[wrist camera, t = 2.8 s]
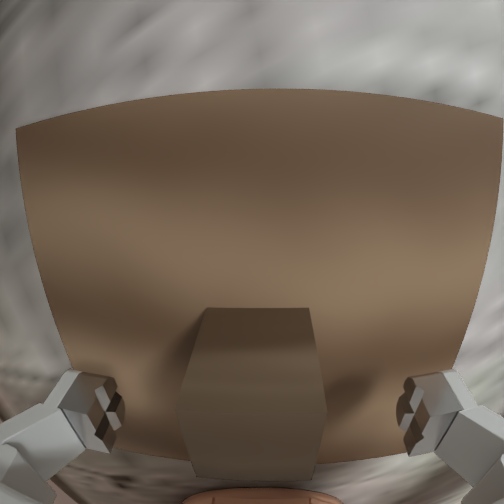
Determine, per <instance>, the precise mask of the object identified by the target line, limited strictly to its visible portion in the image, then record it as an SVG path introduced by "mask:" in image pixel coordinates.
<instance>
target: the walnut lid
mask: <svg viewBox="0 0 504 504" xmlns="http://www.w3.org/2000/svg"><path fill="white" fill-rule="evenodd" d="M16 140H17V152H18V162H19V171H20V179H21V186H22V193H23V199H24V205H25V211H26V216H27V221H28V226H29V231H30V236H31V240H32V245H33V249H34V253H35V257H36V261H37V265H38V269H39V272H40V276H41V279H42V283H43V286H44V290H45V293H46V296H47V299H48V303H49V306H50V309H51V312H52V315H53V318H54V320H55V323H56V326H57V329H58V332H59V334H60V337H61V340H62V342H63V345H64V347H65V350H66V352H67V355H68V357H69V360H70V362H71V364H72V367H73V369H74V370H77V371H82V372H88V373H93V374H99V375H104V376H110V377H113V378H114V379H115V381H116V383H117V385H118V387H117V389H116V392H117V393H118V394H120V395H121V396H122V398H123V400H124V403H125V409H126V411H125V419H124V421H123V424H122V426H121V427H119V428H118V429H116V430H115V433H116V436H117V438H116V441H115V443H114V445H113V448H117V449H121V450H126V451H131V452H136V453H141V454H147V455H153V456H159V457H165V458H172V459H179V460H188V461H191V463H192V466H193V469H194V471H195V474H196V477H202V478H213V479H226V480H245V481H298V480H312V476H313V472H314V468H315V464H324V463H336V462H346V461H355V460H363V459H370V458H377V457H383V456H389V455H395V454H401V453H406V452H407V450H406V447H405V444H404V441H403V438H404V436H405V433H406V432H404V431H403V430H402V429H400V428H399V426H398V423H397V419H396V405H397V402H398V399H399V397H400V396H401V395H402V394H403V393H405V391H404V388H403V385H404V382H405V380H406V379H407V378H408V377H409V376H416V375H422V374H427V373H433V372H439V371H444V370H449V369H452V367H453V364H454V362H455V360H456V357H457V354H458V352H459V349H460V347H461V344H462V341H463V338H464V336H465V333H466V330H467V327H468V324H469V321H470V318H471V315H472V312H473V309H474V305H475V302H476V299H477V295H478V292H479V288H480V284H481V281H482V277H483V273H484V269H485V265H486V260H487V256H488V251H489V247H490V242H491V237H492V231H493V226H494V220H495V214H496V207H497V200H498V192H499V183H500V173H501V161H502V144H503V118H499V117H496V116H492V115H488V114H484V113H480V112H476V111H472V110H468V109H464V108H459V107H454V106H450V105H445V104H440V103H434V102H429V101H423V100H417V99H410V98H404V97H396V96H389V95H380V94H371V93H361V92H350V91H336V90H316V89H242V90H222V91H208V92H196V93H186V94H177V95H168V96H161V97H153V98H146V99H140V100H133V101H128V102H122V103H116V104H111V105H106V106H101V107H96V108H91V109H87V110H82V111H78V112H74V113H70V114H66V115H62V116H58V117H54V118H50V119H47V120H43V121H40V122H36V123H33V124H30V125H26V126H23V127H20V128H17V129H16Z"/></svg>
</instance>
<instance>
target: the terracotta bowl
mask: <svg viewBox="0 0 504 504" xmlns="http://www.w3.org/2000/svg"><path fill="white" fill-rule="evenodd" d="M182 504H344V503H343V502H342V501H341V500H339V499H337V498H336V497H333V496H330V495H327V494H323V493H319V492H314V491H307V490H299V489H288V488H231V489H220V490H212V491H207V492H202V493H198V494H195V495H193V496H190V497H188V498H187V499H185V500H184V501H183V503H182Z"/></svg>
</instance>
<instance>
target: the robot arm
mask: <svg viewBox="0 0 504 504" xmlns="http://www.w3.org/2000/svg"><path fill="white" fill-rule="evenodd" d="M117 387H118V385H117V383H116V381H115V379H114V378H113V377H110V376H104V375H99V374H93V373H88V372H82V371H77V370H72V369H69V370H67V371H65V373H64V374H63V376H62V377H61V378H60V380H59V381H58V383H57V384H56V386H55V387H54V389H53V390H52V392H51V393H50V395H49V396H48V398H47V399H46V401H45V402H44V404H42V403H39V404H37V405H35V406H33V407H31V408H29V409H27V410H25V411H24V412H22V413H20V414H18V415H16V416H14V417H12V418H10V419H8V420H7V421H5V422H3V423H1V424H0V504H53V503H54V500H55V498H56V493H55V491H54V490H53V489H52V488H51V487H50V486H49V485H48V484H47V483H46V481H47V480H48V479H50V478H51V477H52V476H54V475H55V474H56V473H57V472H59V471H60V470H61V469H62V468H64V467H65V466H66V465H67V464H69V463H70V462H71V461H72V460H74V459H75V458H76V457H77V456H79V455H80V454H81V453H82V452H84V451H85V450H86V449H85V448H87V449H91V450H96V451H100V452H105V453H109V454H110V453H111V450H112V448H113V445H114V443H115V441H116V438H117V436H116V433H115V430H116V429H118V428H119V427H121V426H122V424H123V421H124V419H125V411H126V409H125V403H124V400H123V398H122V396H121V395H120V394H118V393H117V392H116V389H117ZM403 388H404V391H405V393H403V394H402V395H401V396H400V397H399V399H398V402H397V405H396V419H397V423H398V426H399V428H400V429H402V430H403V431H404V432H406V433H405V436H404V438H403V441H404V444H405V447H406V450H407V453H408V456H409V457H410V456H416V455H421V454H425V453H430V452H434V451H435V452H434V453H435V454H436V455H437V456H439V457H440V458H441V459H442V460H443V461H444V462H445V463H446V464H447V465H449V466H450V467H451V468H452V469H453V470H454V471H455V472H457V473H458V474H459V475H460V476H461V477H462V478H463V479H464V480H466V481H467V482H468V483H469V484H470V485H471V486H472V487H473V488H472V489H471V490H470V491H469V492H468V493H467V494H466V495H465V496H464V497H463V499H462V501H461V504H504V418H503V417H502V416H500V415H498V414H496V413H495V412H493V411H491V410H489V409H488V408H486V407H484V406H483V405H480V406H478V405H477V404H476V402H475V400H474V398H473V397H472V395H471V393H470V392H469V390H468V388H467V387H466V385H465V383H464V382H463V380H462V378H461V377H460V375H459V373H458V372H457V371H456V370H455V369H449V370H444V371H439V372H433V373H427V374H422V375H416V376H409V377H408V378H407V379H406V380H405V382H404V385H403Z"/></svg>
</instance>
